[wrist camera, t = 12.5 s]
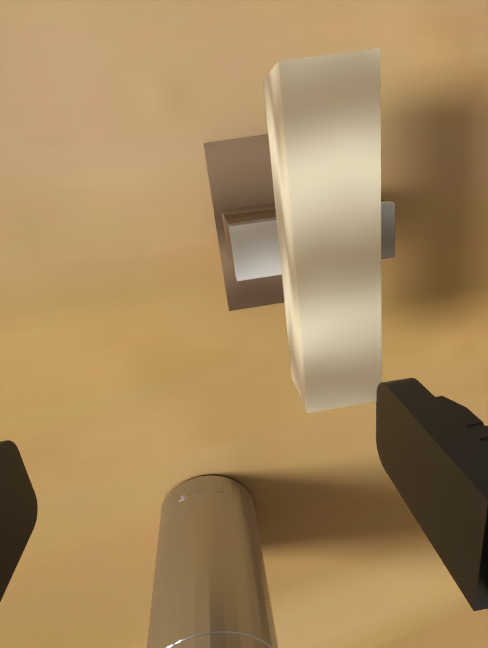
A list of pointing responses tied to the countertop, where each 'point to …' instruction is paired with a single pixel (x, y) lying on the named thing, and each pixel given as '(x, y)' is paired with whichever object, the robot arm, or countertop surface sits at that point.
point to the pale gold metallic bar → (329, 221)
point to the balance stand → (256, 221)
